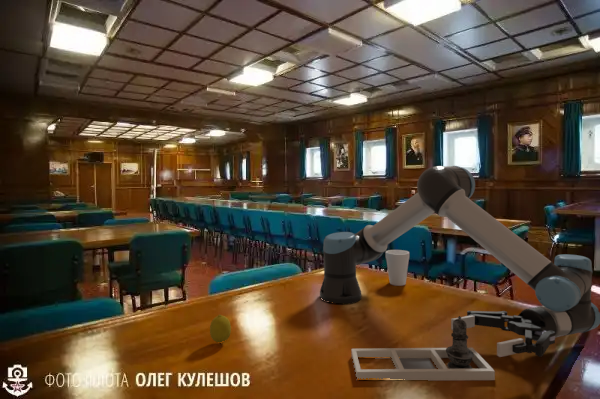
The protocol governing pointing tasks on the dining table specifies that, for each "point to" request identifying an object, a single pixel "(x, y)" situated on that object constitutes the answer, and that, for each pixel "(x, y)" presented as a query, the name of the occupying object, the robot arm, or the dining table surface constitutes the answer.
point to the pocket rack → (420, 365)
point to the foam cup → (397, 266)
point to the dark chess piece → (459, 347)
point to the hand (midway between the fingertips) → (473, 336)
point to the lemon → (220, 328)
